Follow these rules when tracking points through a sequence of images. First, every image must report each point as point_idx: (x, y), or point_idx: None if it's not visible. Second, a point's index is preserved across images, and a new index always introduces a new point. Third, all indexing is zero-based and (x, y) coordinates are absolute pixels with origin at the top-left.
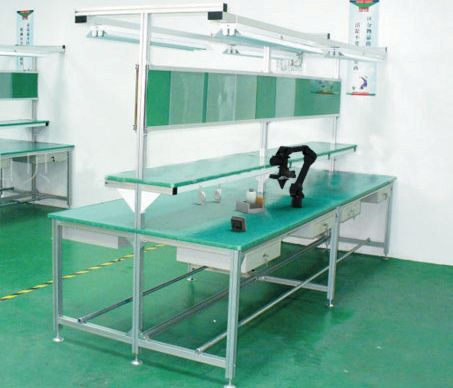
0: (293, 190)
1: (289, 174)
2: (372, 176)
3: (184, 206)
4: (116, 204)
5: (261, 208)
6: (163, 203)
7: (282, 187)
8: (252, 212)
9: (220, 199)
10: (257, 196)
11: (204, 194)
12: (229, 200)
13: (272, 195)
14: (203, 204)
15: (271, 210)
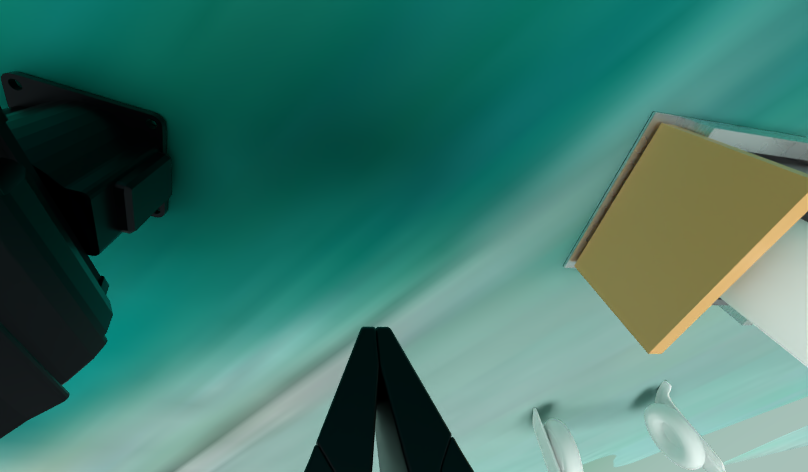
0: (7, 284)
1: None
2: None
3: (727, 387)
4: (793, 437)
5: (723, 128)
6: (704, 427)
7: (387, 355)
8: (775, 133)
9: (541, 422)
10: (721, 289)
11: (699, 443)
12: (457, 423)
13: (114, 462)
14: (670, 386)
15: (525, 138)
